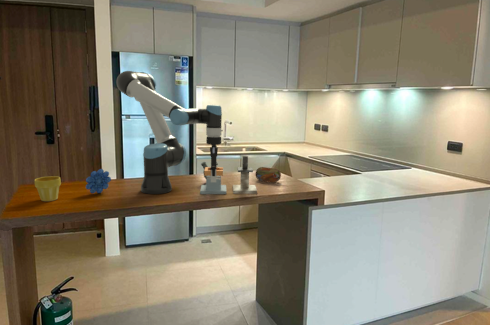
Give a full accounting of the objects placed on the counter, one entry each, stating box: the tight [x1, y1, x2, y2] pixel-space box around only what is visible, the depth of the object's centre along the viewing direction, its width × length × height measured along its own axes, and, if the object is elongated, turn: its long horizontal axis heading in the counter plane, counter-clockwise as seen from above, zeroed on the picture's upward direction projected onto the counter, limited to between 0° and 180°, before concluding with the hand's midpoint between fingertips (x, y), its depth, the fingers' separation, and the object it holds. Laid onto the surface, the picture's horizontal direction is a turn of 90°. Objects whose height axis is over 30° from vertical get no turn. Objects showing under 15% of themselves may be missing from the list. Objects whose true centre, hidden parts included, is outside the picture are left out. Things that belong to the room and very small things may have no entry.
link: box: [203, 166, 224, 177], centre depth 181 cm, size 9×9×2 cm
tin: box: [255, 166, 282, 183], centre depth 206 cm, size 15×3×8 cm, turn 65°
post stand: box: [232, 155, 258, 195], centre depth 184 cm, size 12×12×18 cm
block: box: [199, 176, 227, 195], centre depth 183 cm, size 13×13×7 cm
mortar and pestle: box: [200, 161, 209, 180], centre depth 200 cm, size 11×9×12 cm
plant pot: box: [34, 175, 62, 202], centre depth 161 cm, size 10×10×10 cm
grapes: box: [85, 168, 112, 194], centre depth 174 cm, size 12×7×12 cm, turn 120°
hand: (213, 179), depth 182 cm, fingers closed on link, 9 cm apart
